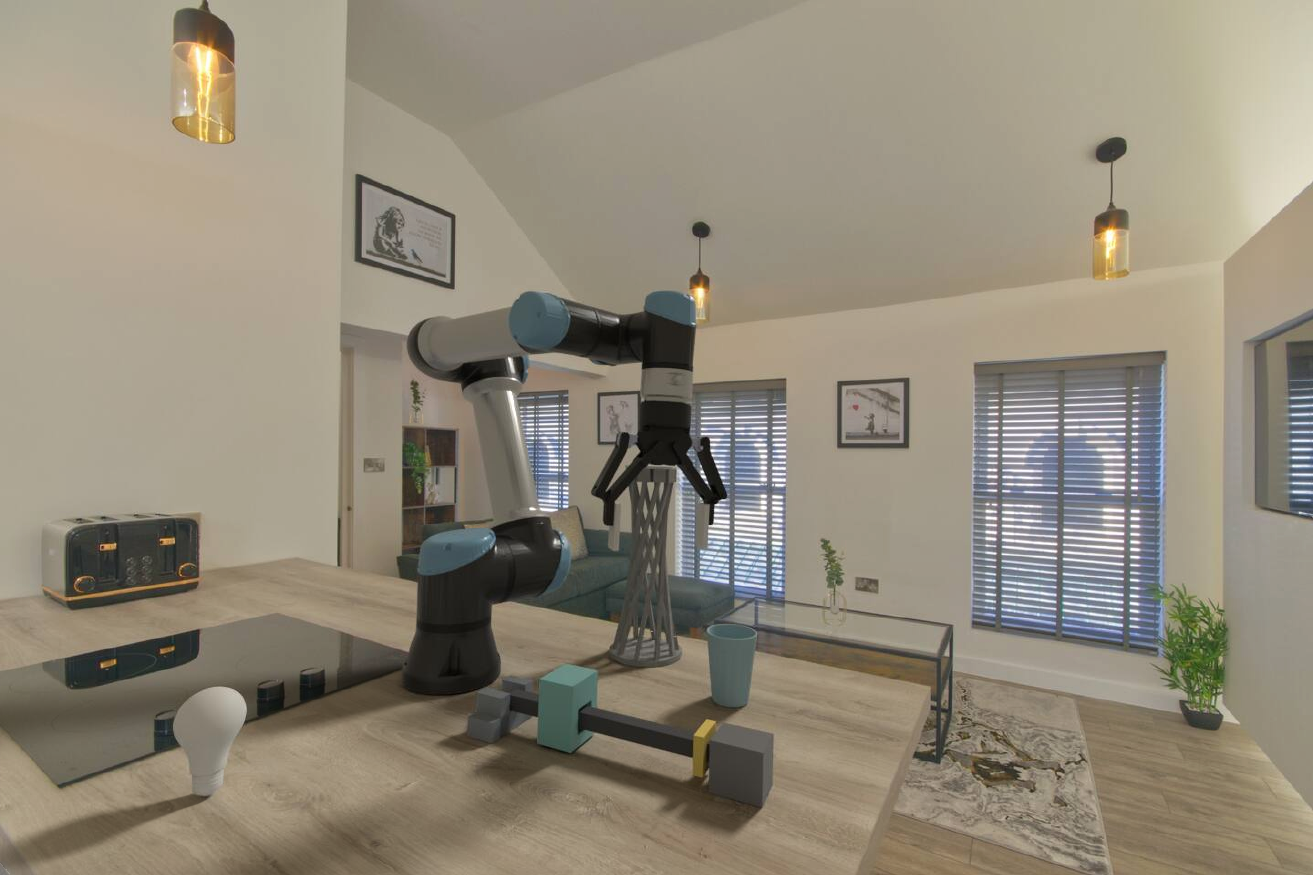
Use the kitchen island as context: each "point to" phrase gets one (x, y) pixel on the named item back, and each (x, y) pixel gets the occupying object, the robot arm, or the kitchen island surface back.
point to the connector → (741, 764)
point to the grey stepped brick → (497, 711)
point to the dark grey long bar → (634, 730)
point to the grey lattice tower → (639, 647)
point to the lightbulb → (209, 734)
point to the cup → (731, 663)
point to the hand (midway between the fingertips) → (658, 548)
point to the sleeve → (565, 706)
